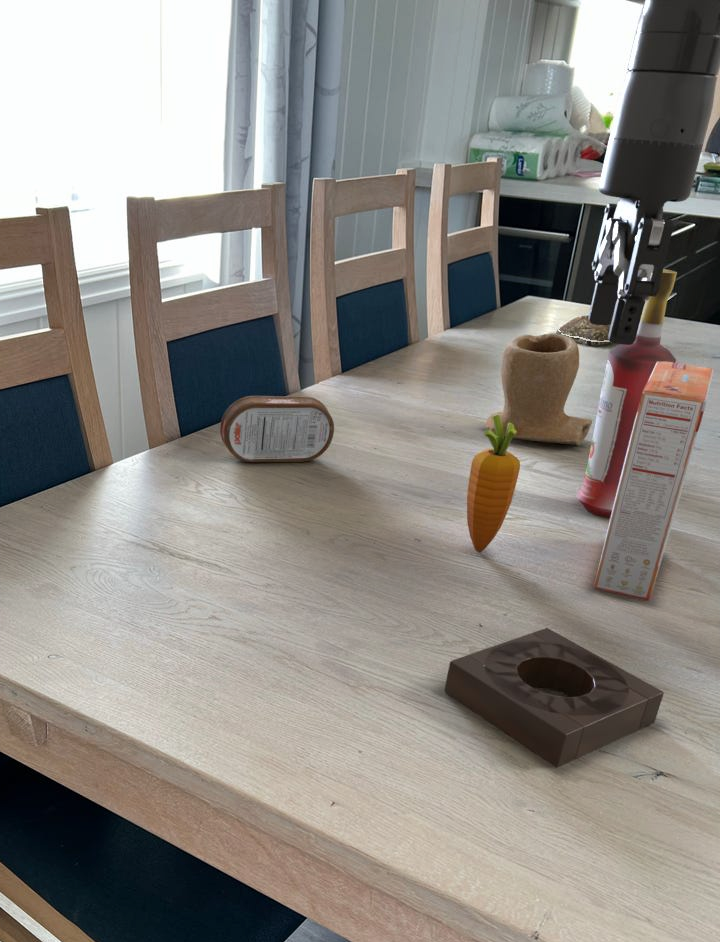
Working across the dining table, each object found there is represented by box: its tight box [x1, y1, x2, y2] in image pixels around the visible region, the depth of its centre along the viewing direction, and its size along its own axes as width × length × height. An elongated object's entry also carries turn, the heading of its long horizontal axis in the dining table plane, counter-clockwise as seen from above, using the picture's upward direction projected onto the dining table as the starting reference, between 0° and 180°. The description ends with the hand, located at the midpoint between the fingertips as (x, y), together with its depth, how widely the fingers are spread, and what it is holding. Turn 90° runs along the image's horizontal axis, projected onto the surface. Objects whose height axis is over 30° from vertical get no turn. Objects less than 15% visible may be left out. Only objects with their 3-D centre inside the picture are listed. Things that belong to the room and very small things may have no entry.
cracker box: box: [593, 361, 714, 601], centre depth 100 cm, size 14×6×21 cm, turn 154°
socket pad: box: [444, 627, 665, 768], centre depth 79 cm, size 12×12×3 cm
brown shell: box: [555, 314, 612, 347], centre depth 208 cm, size 13×12×5 cm
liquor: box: [576, 268, 678, 517], centre depth 114 cm, size 7×7×28 cm
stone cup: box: [484, 333, 593, 446], centre depth 140 cm, size 15×12×15 cm
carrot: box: [466, 415, 521, 554], centre depth 103 cm, size 5×5×15 cm
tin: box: [219, 395, 335, 463], centre depth 127 cm, size 15×3×8 cm, turn 102°
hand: (609, 333), depth 90 cm, fingers open, 8 cm apart
